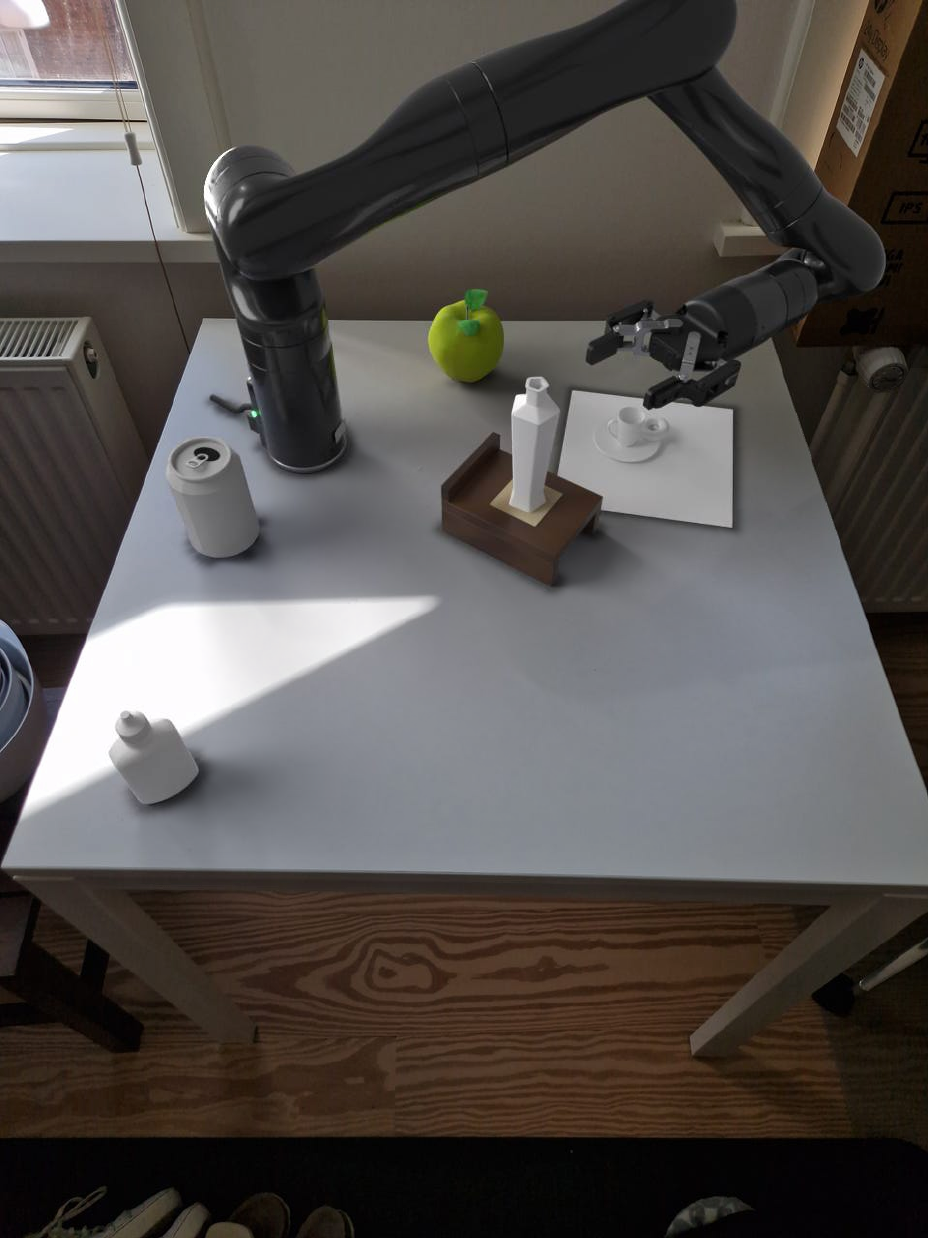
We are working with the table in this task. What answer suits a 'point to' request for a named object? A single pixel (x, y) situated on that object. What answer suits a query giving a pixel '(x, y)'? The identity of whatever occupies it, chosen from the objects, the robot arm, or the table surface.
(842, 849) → the table surface
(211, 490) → the can
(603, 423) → the teacup and saucer
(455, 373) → the fruit
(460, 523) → the wooden display stand
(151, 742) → the eye dropper bottle
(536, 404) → the white faceted vase
